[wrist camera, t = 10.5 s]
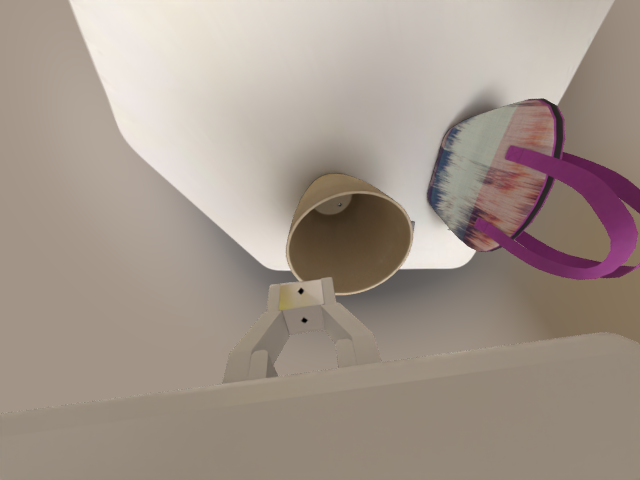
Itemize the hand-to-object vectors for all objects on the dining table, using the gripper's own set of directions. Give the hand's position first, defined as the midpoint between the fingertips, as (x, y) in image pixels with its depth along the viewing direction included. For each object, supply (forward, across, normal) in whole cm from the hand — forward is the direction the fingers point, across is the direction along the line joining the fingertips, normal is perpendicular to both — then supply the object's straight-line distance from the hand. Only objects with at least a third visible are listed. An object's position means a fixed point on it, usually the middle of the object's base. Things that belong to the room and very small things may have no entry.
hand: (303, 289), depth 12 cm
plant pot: (+30, -4, +9) cm, 31 cm away
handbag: (+30, -26, +8) cm, 41 cm away
